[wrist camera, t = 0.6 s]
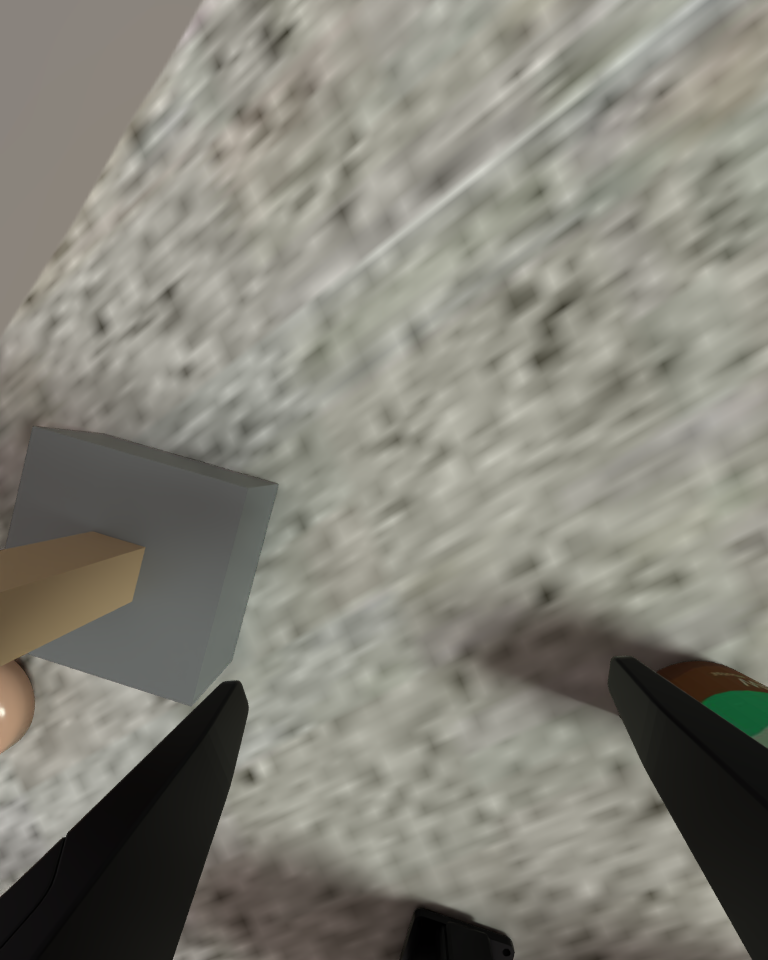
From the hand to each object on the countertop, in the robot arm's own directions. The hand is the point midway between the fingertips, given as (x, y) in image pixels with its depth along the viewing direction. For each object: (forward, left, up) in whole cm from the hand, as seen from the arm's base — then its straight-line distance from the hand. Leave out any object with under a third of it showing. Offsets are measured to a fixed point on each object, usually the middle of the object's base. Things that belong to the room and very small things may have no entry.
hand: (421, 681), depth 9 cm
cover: (-4, +15, -14) cm, 21 cm away
